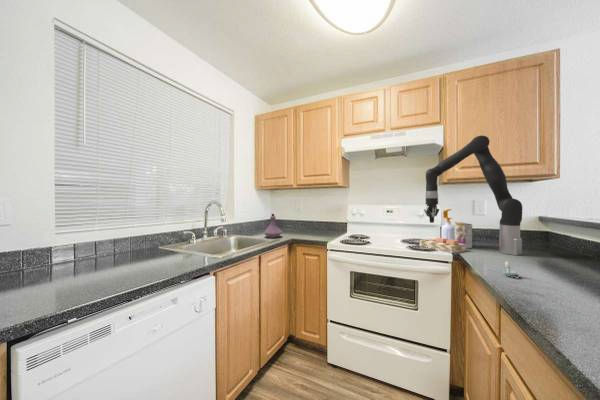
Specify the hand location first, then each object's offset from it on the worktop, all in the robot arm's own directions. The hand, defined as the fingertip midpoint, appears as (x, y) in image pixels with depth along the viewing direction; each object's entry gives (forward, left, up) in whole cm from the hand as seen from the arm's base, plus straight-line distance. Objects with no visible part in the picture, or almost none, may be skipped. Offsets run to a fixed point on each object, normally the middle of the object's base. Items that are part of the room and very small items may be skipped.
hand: (431, 222), depth 157 cm
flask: (+81, +90, -17) cm, 122 cm away
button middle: (-7, 0, -13) cm, 15 cm away
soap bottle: (+9, -32, -17) cm, 37 cm away
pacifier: (-54, +24, -17) cm, 62 cm away
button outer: (0, 0, -15) cm, 15 cm away
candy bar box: (-10, -18, -17) cm, 27 cm away
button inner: (-14, 0, -13) cm, 19 cm away
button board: (-7, 0, -17) cm, 18 cm away
